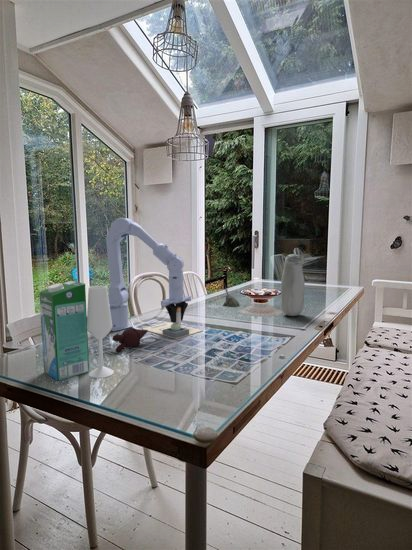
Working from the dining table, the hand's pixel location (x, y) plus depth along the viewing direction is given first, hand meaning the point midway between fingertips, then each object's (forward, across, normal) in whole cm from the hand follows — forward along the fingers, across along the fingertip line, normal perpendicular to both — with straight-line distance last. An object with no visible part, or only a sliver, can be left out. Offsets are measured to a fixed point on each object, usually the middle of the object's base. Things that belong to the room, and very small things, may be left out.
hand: (176, 321), depth 151 cm
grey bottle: (+3, +50, -24) cm, 55 cm away
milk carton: (+3, -52, -12) cm, 54 cm away
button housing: (+3, -7, -7) cm, 10 cm away
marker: (+2, 0, 0) cm, 2 cm away
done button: (+2, -7, -7) cm, 10 cm away
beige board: (+3, -4, -1) cm, 5 cm away
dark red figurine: (+3, -27, -6) cm, 28 cm away
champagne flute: (+3, -46, -20) cm, 51 cm away
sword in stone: (+3, +50, +12) cm, 52 cm away
